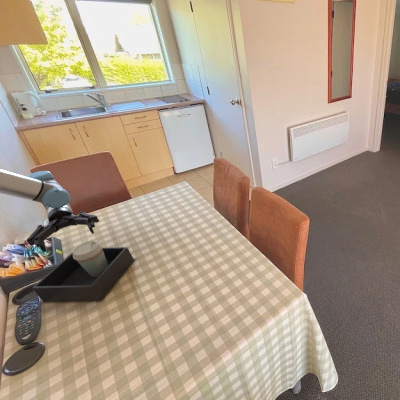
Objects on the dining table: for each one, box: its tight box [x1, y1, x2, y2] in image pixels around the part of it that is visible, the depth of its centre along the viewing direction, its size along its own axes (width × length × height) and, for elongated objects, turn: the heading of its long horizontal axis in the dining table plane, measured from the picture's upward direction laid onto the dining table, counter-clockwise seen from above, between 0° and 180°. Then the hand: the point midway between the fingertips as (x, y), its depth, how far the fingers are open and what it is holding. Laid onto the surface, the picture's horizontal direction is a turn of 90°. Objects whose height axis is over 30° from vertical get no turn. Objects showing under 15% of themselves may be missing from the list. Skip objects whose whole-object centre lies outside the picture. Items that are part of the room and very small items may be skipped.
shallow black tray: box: [31, 246, 135, 303], centre depth 98 cm, size 20×20×7 cm
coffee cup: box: [71, 240, 108, 277], centre depth 98 cm, size 9×9×12 cm
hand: (68, 239), depth 94 cm, fingers open, 13 cm apart
